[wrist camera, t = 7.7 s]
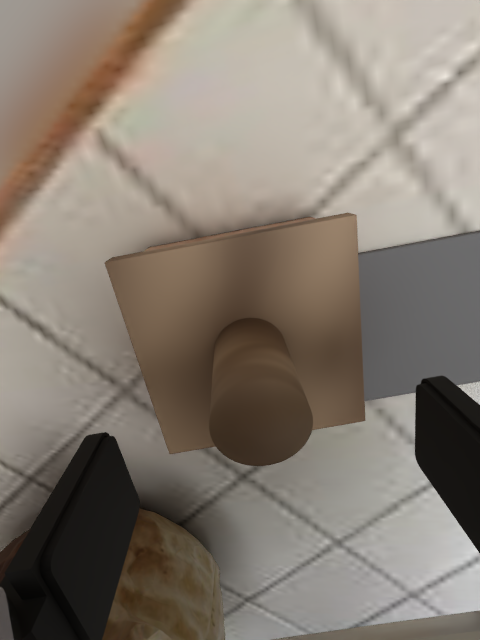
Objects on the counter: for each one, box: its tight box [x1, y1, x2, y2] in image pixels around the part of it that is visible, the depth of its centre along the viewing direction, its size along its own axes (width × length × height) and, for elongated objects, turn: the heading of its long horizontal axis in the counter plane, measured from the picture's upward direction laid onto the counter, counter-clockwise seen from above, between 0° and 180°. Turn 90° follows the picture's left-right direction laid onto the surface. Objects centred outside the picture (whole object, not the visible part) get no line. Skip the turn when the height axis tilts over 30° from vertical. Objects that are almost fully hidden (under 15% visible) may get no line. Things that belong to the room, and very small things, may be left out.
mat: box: [358, 231, 480, 401], centre depth 21 cm, size 10×10×1 cm
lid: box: [105, 213, 365, 466], centre depth 13 cm, size 10×10×6 cm
